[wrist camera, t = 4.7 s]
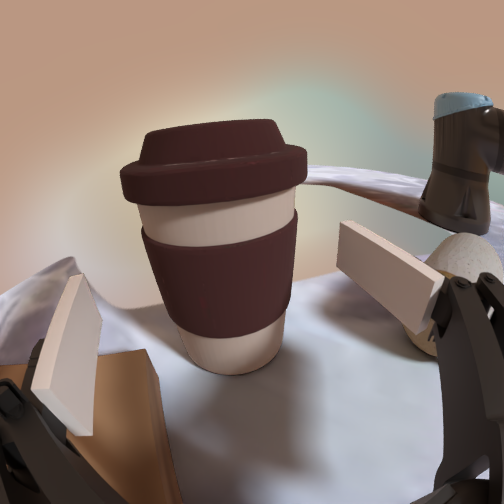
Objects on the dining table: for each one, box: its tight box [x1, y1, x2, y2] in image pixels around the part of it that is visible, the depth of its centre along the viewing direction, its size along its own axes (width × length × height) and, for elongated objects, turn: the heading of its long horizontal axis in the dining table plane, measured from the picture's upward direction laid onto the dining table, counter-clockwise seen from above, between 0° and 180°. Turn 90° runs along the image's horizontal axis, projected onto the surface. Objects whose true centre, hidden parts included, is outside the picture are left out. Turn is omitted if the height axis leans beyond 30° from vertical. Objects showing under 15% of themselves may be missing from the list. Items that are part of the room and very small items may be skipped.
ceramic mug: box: [402, 233, 503, 357], centre depth 15 cm, size 11×8×8 cm
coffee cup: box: [120, 119, 307, 375], centre depth 17 cm, size 10×10×15 cm
